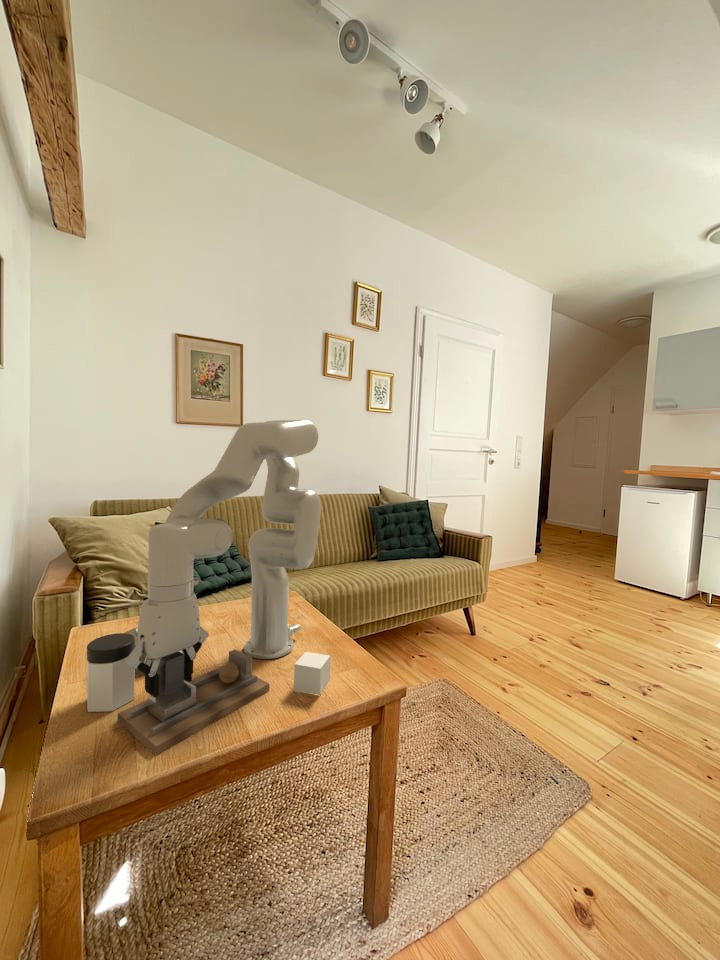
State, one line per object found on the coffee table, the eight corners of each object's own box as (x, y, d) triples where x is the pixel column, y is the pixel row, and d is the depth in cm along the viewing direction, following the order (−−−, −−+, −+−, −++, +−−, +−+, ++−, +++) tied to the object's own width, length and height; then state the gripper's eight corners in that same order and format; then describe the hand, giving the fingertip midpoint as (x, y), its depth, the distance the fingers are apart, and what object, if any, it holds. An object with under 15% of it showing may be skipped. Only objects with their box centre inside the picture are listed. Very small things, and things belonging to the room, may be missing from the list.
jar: (143, 688, 83) (144, 632, 83) (124, 711, 75) (125, 650, 75) (98, 689, 82) (99, 633, 82) (74, 713, 74) (74, 651, 74)
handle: (178, 696, 78) (179, 643, 77) (195, 707, 74) (196, 653, 74) (147, 710, 73) (148, 655, 72) (164, 723, 69) (165, 665, 69)
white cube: (320, 696, 82) (320, 668, 82) (293, 691, 84) (294, 664, 83) (330, 681, 88) (330, 655, 88) (305, 677, 89) (305, 651, 89)
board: (229, 669, 92) (229, 641, 92) (269, 690, 84) (269, 660, 83) (117, 721, 72) (118, 686, 72) (155, 755, 64) (156, 716, 64)
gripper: (201, 577, 82) (200, 662, 82) (111, 597, 68) (110, 700, 68) (223, 584, 77) (222, 674, 78) (131, 607, 63) (130, 717, 64)
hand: (169, 685), depth 73 cm, fingers open, 5 cm apart
